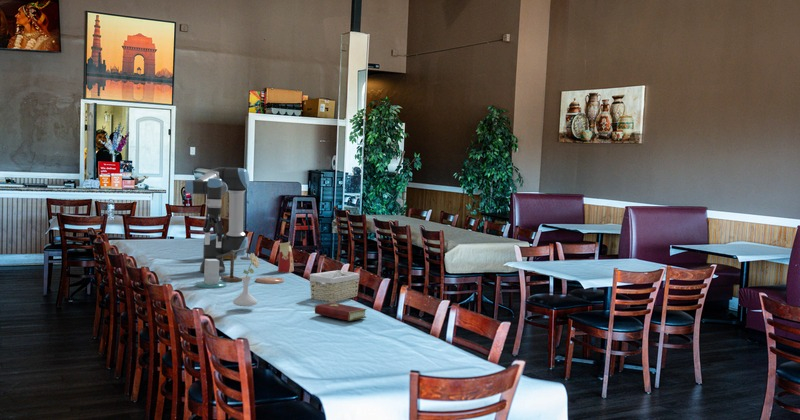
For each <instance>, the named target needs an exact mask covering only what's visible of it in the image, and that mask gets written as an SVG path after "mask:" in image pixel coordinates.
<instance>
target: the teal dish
mask: <svg viewBox="0 0 800 420" xmlns="http://www.w3.org/2000/svg"><path fill="white" fill-rule="evenodd" d="M195 287H197V288H202V289H222V288H225V287H227V282H223V281H219V284H216V285H207V284H206V283H204V281H199V282H196V283H195Z"/></svg>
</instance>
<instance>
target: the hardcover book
mask: <svg viewBox="0 0 800 420" xmlns="http://www.w3.org/2000/svg"><path fill="white" fill-rule="evenodd" d="M367 310H368V309H367V308H362V307H357V306H354V305H353V306H352V305H348V304H347V305H346V304H342V303H338V302H327V303H321V304H315V305H314V314H316V315H319V316H324V317H325V316H326V317H329V318H334V319H338V320H342V321H343V320H344V321H349V322H351V321H357V320H361V319H365V318H367V316H366V311H367Z"/></svg>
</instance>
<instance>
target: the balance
mask: <svg viewBox="0 0 800 420" xmlns="http://www.w3.org/2000/svg"><path fill="white" fill-rule="evenodd" d="M246 249H247V251H246V255H247V256H240V260H242V261H243V260H244V261H246V260H247V261H251V260H250V256H249V246H248V247H245V248H242V249H239V250H236V251H234V250H231V251H230V252H229V253H226V254H223V255H219V256H216V259H217V258H220V257H223V256H226V255H230V254H231V260H230V271H229V273H230V274H229V275H222V276H220V280H223V281H226V282H229V283H236V282H237V283H239V282H243V280H242V278H241V277H239V276H234V270H235V269H234V267H235V265H234V264H235V259H234V254H235V253H236V252H239V251H243V250H246ZM223 269H224V267H219V270H223Z"/></svg>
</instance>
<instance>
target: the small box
mask: <svg viewBox="0 0 800 420" xmlns="http://www.w3.org/2000/svg"><path fill="white" fill-rule="evenodd" d="M219 279H220V273H219V260H217V259H205V268H204V272H203V282H204V283H206V284H207V285H216V284H219V282H220V280H219Z"/></svg>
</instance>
